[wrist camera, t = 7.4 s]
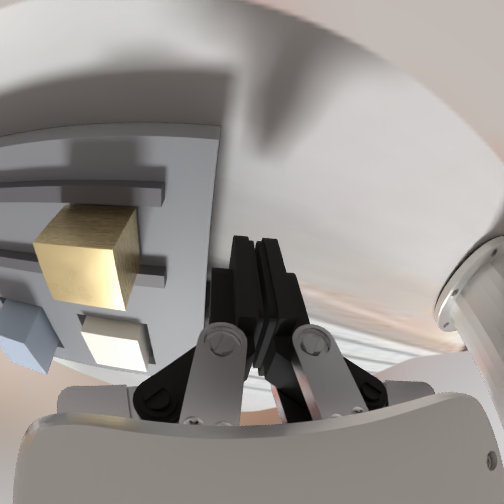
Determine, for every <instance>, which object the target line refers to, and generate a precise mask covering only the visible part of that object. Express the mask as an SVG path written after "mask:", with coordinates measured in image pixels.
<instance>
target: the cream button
mask: <svg viewBox="0 0 504 504" xmlns="http://www.w3.org/2000/svg"><path fill="white" fill-rule="evenodd" d="M81 334H82V336H83V338H84V340H85V342H86V344H87V346H88V348H89V350H90V352H91V354H92V355H93V357H94V359H95V361H96V363H97V364H101V365H107V366H112V367H118V368H124V369H130V370H137V371H144V372H147V368H148V362H149V356H150V350H151V340H150V336H149V331H148V326H147V324H143V323H135V322H127V321H120V320H113V319H106V318H99V317H93V316H86V318H85V321H84V324H83V326H82V329H81Z"/></svg>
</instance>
